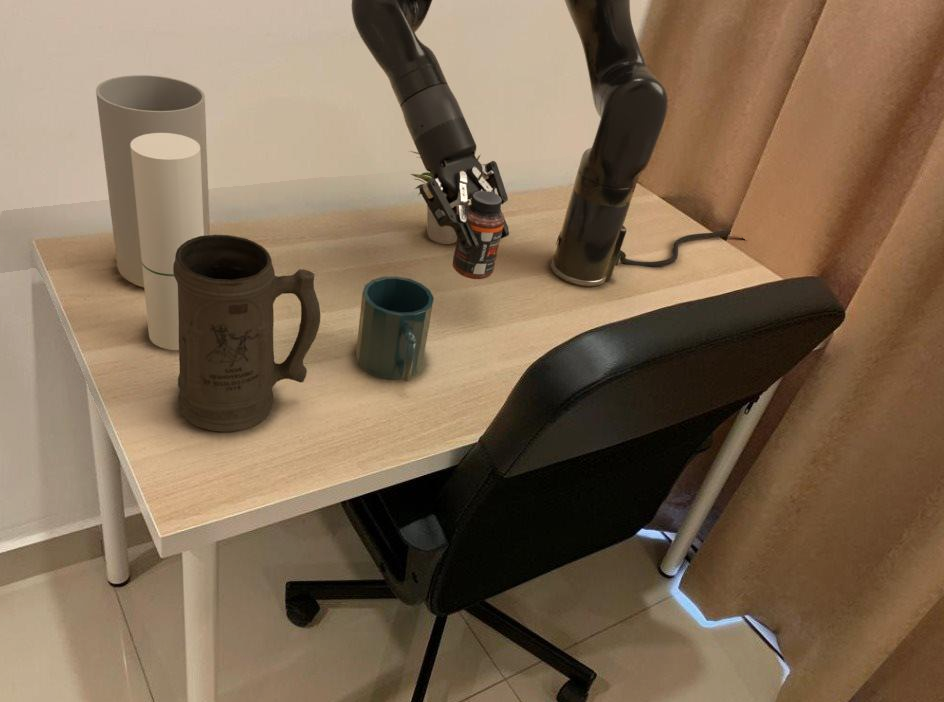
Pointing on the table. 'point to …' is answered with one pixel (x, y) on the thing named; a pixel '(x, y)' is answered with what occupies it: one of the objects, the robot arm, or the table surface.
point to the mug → (393, 327)
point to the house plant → (434, 230)
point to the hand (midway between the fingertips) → (488, 243)
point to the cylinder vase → (132, 115)
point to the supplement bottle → (481, 236)
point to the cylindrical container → (165, 221)
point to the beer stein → (235, 330)
